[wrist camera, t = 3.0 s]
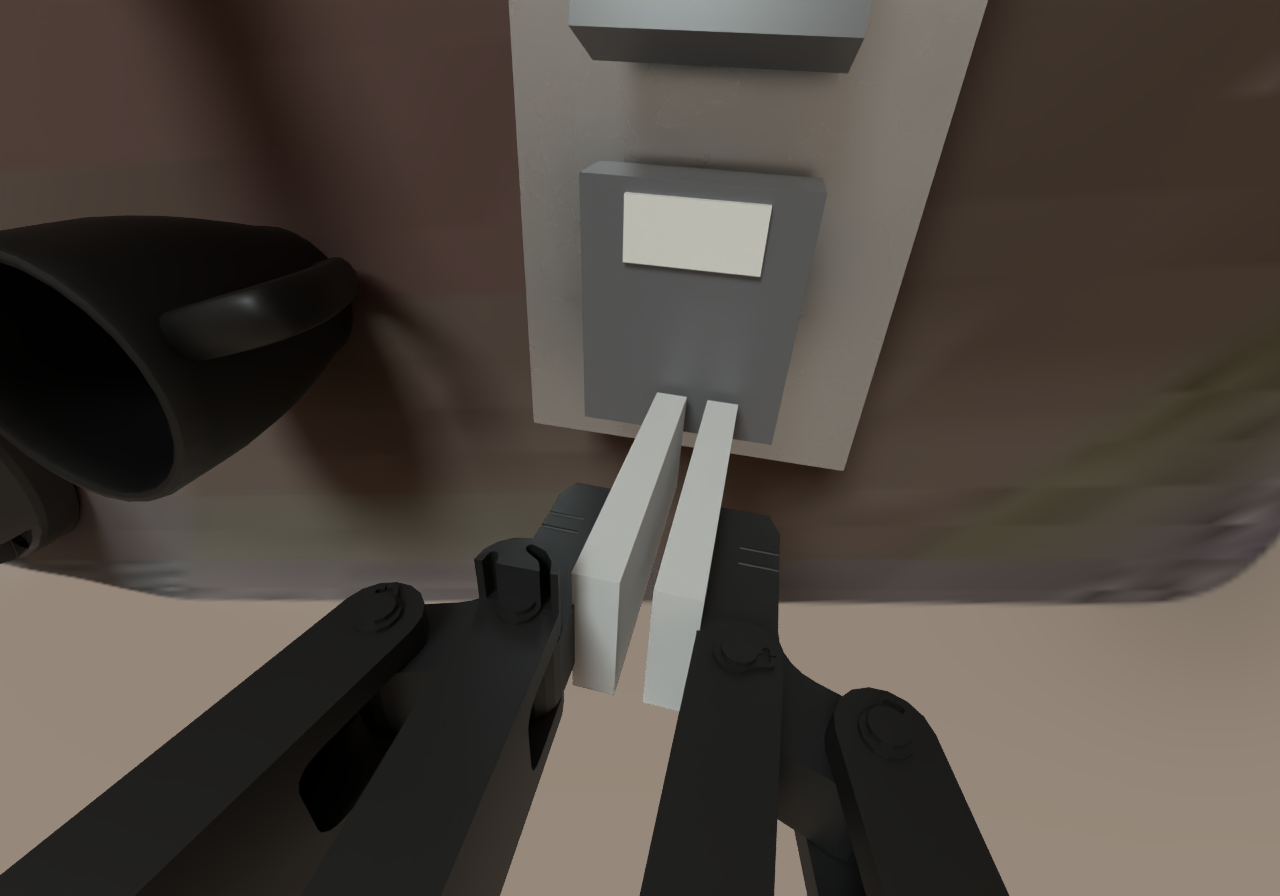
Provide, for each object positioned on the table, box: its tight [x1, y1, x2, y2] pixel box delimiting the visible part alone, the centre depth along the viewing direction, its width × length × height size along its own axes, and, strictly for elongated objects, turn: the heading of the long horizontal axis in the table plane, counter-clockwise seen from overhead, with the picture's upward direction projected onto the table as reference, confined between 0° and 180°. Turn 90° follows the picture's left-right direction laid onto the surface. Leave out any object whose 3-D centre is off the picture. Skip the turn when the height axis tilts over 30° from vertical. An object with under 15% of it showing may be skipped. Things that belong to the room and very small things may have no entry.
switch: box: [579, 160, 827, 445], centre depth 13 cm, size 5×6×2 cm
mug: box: [0, 216, 359, 501], centre depth 19 cm, size 8×12×10 cm
